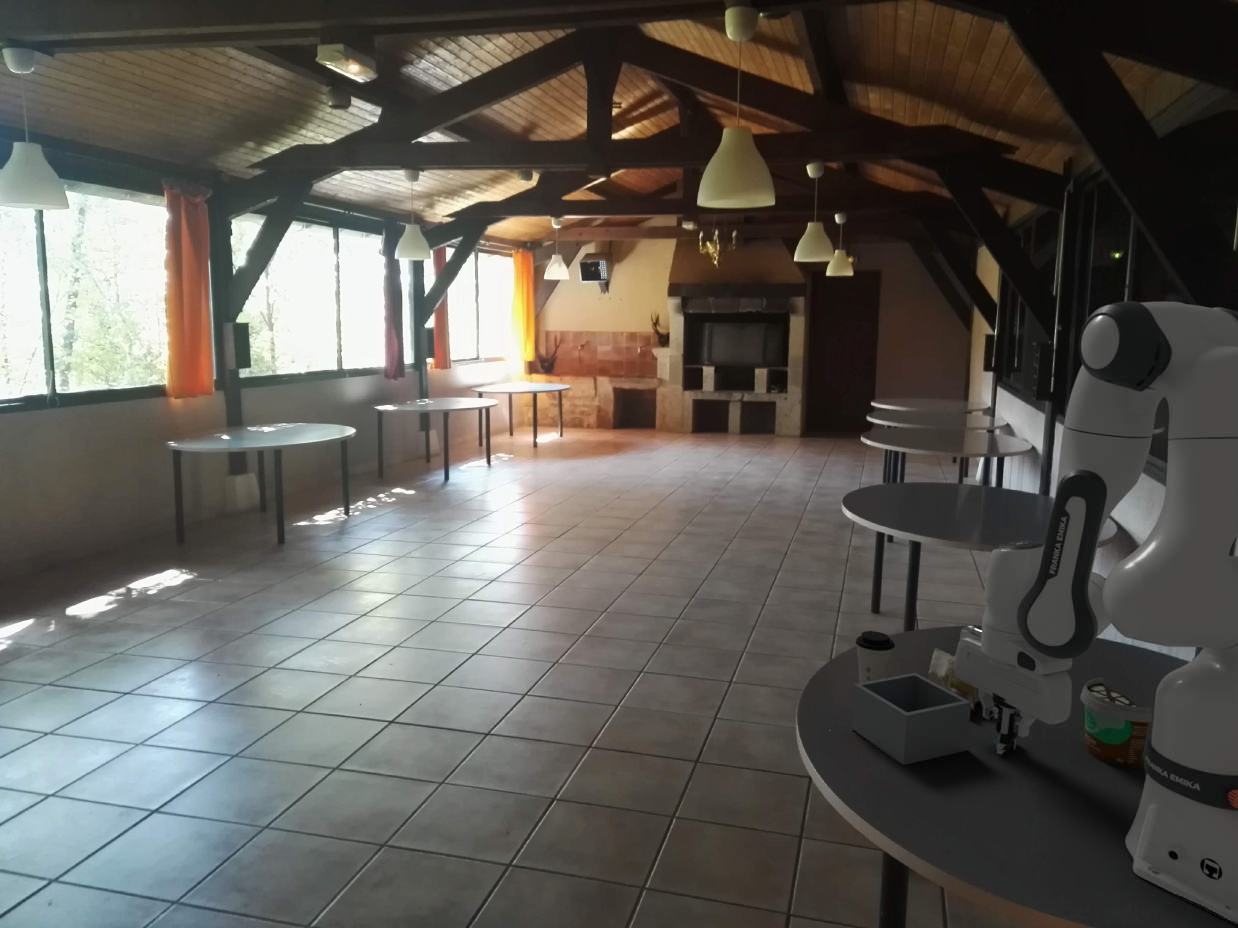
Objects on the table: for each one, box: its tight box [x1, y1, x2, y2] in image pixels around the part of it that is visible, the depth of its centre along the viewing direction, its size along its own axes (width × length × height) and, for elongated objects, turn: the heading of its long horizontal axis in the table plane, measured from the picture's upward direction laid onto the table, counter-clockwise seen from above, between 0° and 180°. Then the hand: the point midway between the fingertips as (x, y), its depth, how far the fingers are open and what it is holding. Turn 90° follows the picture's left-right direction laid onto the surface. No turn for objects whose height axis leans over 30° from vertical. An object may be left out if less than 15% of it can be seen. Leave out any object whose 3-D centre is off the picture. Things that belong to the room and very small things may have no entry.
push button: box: [992, 693, 1020, 755], centre depth 137 cm, size 7×5×10 cm
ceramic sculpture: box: [927, 647, 995, 712], centre depth 156 cm, size 11×9×15 cm
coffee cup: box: [855, 630, 896, 683], centre depth 161 cm, size 7×7×10 cm
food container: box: [1080, 677, 1153, 769], centre depth 136 cm, size 12×6×10 cm, turn 5°
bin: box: [851, 672, 971, 766], centre depth 140 cm, size 13×13×8 cm
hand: (1005, 726), depth 138 cm, fingers closed on push button, 5 cm apart
